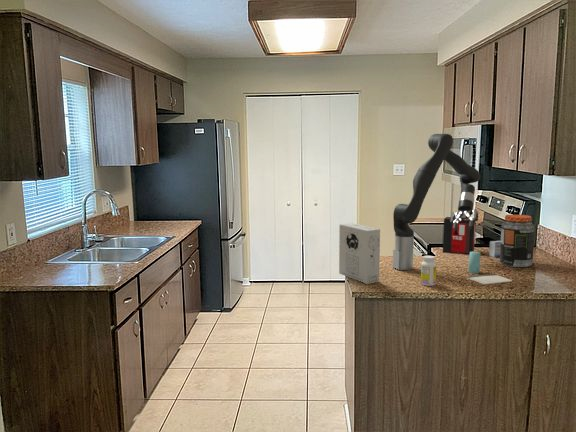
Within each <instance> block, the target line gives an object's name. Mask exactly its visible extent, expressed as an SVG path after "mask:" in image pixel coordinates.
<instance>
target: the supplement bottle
mask: <svg viewBox="0 0 576 432" xmlns="http://www.w3.org/2000/svg"><path fill="white" fill-rule="evenodd" d="M420 284H421V285H422V286H427V287H428V286H432V287H434V286H435V285H437V263H436V262H435V256H433V255H424V256H423V261H422V262H421V265H420Z"/></svg>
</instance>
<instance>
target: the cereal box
mask: <svg viewBox="0 0 576 432" xmlns="http://www.w3.org/2000/svg"><path fill="white" fill-rule="evenodd" d="M338 239H339V241H338V243H339V247H338V248H339V249H338V251H339V253H338V256H339V258H338V260H339V261H338V267H339V269H338V274H339V275H342V276H345V277H347V278H350V279H353V280H355V279H356V280H355V281H357V280H358V281H357V282H360V281H361V282H360V283H362V282H363V284H365V285H369V284H375V282H376V283H379V282H380V261H381V259H380V258H381V257H380V253H381V252H380V251H381V249H380V248H381V229H379V228H376V227H371V226H367V225H362V224H358V223H354V222H348V223H340V224H339V238H338Z"/></svg>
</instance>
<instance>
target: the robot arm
mask: <svg viewBox="0 0 576 432" xmlns="http://www.w3.org/2000/svg"><path fill="white" fill-rule="evenodd" d="M453 144H454V138H453V136H452V135H451V134H449V133H433V134H431V135H430V136H429V138H428V141H427V145H428V147H429V149H430V150H431V151H432V152H433V154H432V155H431V157H429V159H427V160H426V161H425V162H424V163H423V164H421V166H420V167H419V168H418V169H417V172H416V173H415V175H414V177H413V180H412V189H413V192H412V193H413V194H412V197H411V199H410V201H409V202H408V203H407V204H406V203H398V204H397V205H396V206H395V207H394V209H393V214H392V215H393V230H394V233H395V234H394V249H393V250H392V268H393V267H394V268H393V269H395V268H396V269H395V270H397V269H398V271H411V269H412V270H413V268H414V235H415V231H414V230H413V229H412V228H411V227H410V226H409V224H412V223H414V222H415V221H416V220H417V219H418V216H419V215H420V211H421V209H422V205H423V203H424V201H425V198H426V197H427V194H428V192H429V189H430V188H431V186H432V184H433V182H434V180H435V178H436V176H437V173H438V172H439V169H440V168H441V166H442V165H443V164H442V163H444V161H445V162H446V163H447V164H448V165H450V166H451V168H452V169H453V170H454V171H455V172H456V173H457V174H458V175H459V182H460V194H459V198H458V199H459V200H458V206H457V211H456V212H451V216H450V217H451V220H450V222H451V223H452V224H453V229H454V230H457V224H458V223H459V222H460V221H461V220H464V219H468V218H469V219H470V223H469V228H470V229H472V227H473V225H474V222H475V221H476V222H477V221H479V211H478V209H476V208H474V203H475V191H476V188H475V186H474V185H473V183H478V182H479V181H480V179H481V174H480V172H479V171H478V170H477V168H475V167H473V166H471V165H470V164H468V163H467V162H466V161H465V160H464V159H465V158H463V157H462V156H460V155H459V154H458V153H456V152H453V150H451V149H452V147H453ZM472 215H473V217H472ZM455 218H456V219H455ZM458 218H460V219H458Z"/></svg>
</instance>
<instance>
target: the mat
mask: <svg viewBox="0 0 576 432" xmlns="http://www.w3.org/2000/svg"><path fill="white" fill-rule="evenodd" d="M466 279H468V280H471V281H473V282H476V283H479V284H481V285H492V284H500V283H501V284H502V283H510V282H513V280H512V279H509V278H508V277H507V278H506V277H503V276H501V275H498V274H496V273H488V274H479V275H469V276H468V275H467V276H466Z"/></svg>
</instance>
